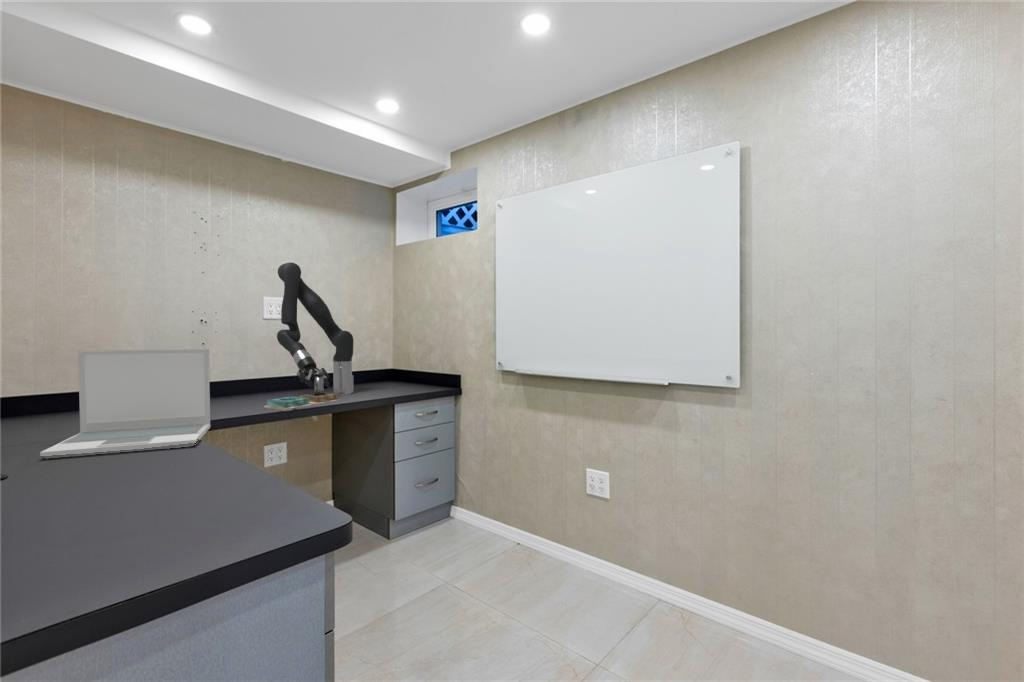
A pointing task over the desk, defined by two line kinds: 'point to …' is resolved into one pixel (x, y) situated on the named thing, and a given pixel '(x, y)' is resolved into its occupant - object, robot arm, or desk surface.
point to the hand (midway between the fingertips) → (320, 386)
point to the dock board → (299, 401)
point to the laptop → (139, 400)
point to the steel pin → (319, 383)
